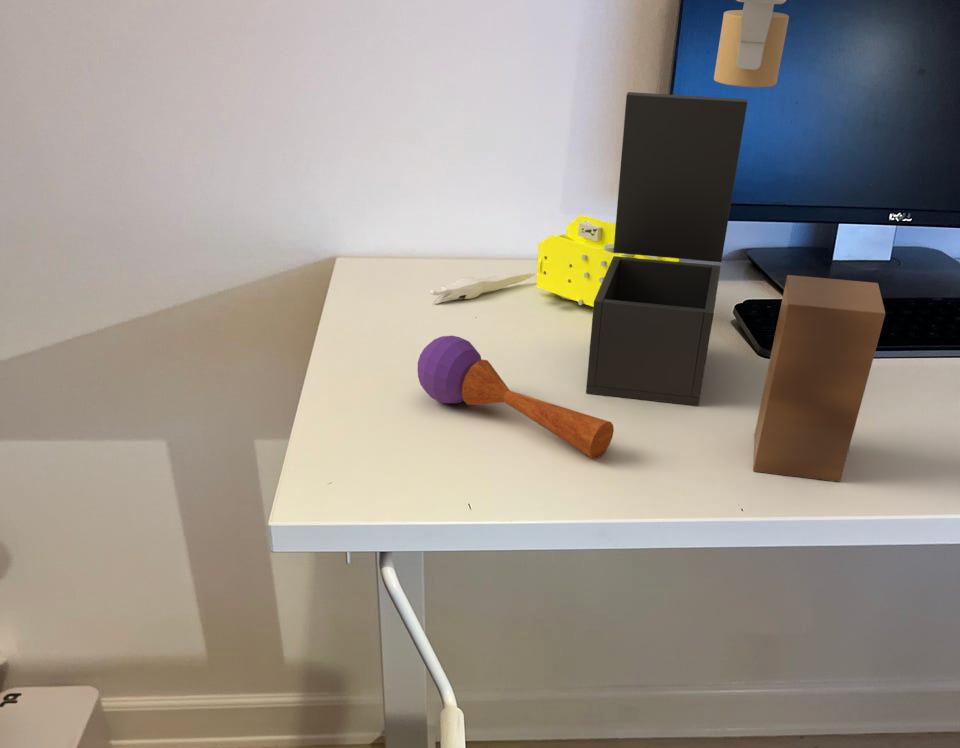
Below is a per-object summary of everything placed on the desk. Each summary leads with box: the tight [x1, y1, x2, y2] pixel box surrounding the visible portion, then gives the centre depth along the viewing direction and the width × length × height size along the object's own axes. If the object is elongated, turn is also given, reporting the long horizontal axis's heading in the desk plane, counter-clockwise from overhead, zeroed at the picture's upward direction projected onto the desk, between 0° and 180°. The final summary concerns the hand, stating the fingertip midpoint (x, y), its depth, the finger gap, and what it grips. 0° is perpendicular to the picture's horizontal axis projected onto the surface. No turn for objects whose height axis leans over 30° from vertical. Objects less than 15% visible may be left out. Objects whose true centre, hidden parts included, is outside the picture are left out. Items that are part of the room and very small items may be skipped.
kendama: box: [417, 335, 614, 460], centre depth 87 cm, size 6×6×20 cm
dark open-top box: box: [585, 256, 722, 407], centre depth 96 cm, size 14×11×9 cm
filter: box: [713, 9, 790, 88], centre depth 76 cm, size 5×5×4 cm
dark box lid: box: [613, 91, 749, 263], centre depth 94 cm, size 14×11×5 cm
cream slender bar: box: [429, 272, 536, 305], centre depth 115 cm, size 15×3×2 cm, turn 125°
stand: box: [752, 274, 886, 483], centre depth 80 cm, size 7×7×14 cm
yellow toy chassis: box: [535, 214, 681, 307], centre depth 110 cm, size 16×6×8 cm, turn 44°
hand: (748, 62), depth 76 cm, fingers closed on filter, 5 cm apart
